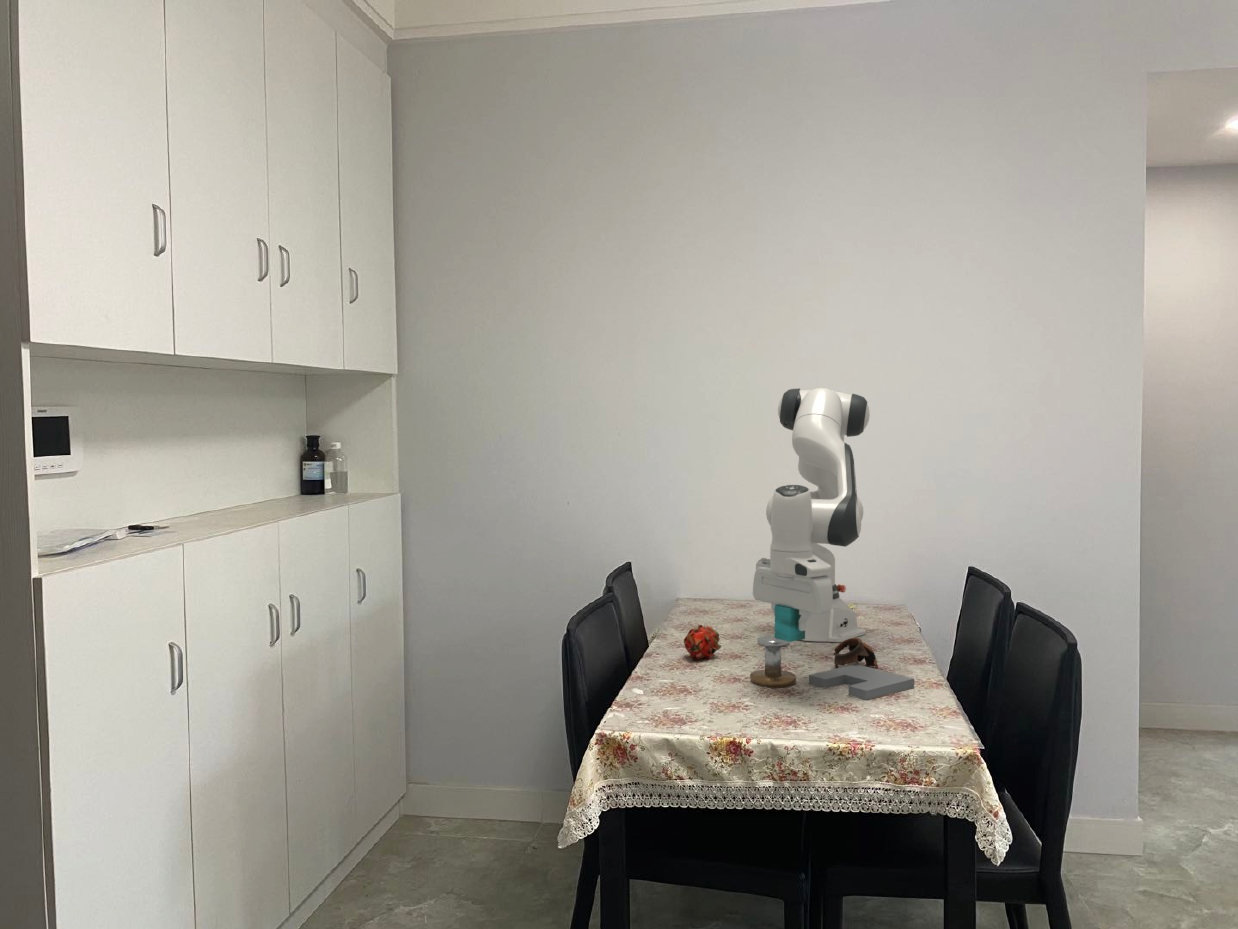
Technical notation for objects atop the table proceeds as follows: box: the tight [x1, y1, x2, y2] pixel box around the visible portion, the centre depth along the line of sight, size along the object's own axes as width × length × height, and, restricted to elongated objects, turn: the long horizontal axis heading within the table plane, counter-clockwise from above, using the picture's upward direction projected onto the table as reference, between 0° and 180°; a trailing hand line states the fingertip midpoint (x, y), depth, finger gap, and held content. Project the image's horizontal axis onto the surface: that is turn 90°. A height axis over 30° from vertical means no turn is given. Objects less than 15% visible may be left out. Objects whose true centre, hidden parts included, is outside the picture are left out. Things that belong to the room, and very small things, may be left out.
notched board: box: [808, 663, 915, 701], centre depth 219 cm, size 16×16×2 cm
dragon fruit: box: [683, 624, 722, 661], centre depth 245 cm, size 8×8×12 cm
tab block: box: [774, 605, 805, 643], centre depth 211 cm, size 4×4×7 cm
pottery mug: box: [832, 637, 879, 670], centre depth 235 cm, size 12×10×8 cm
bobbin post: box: [749, 635, 797, 689], centre depth 222 cm, size 10×10×10 cm
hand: (790, 627), depth 212 cm, fingers closed on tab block, 4 cm apart
